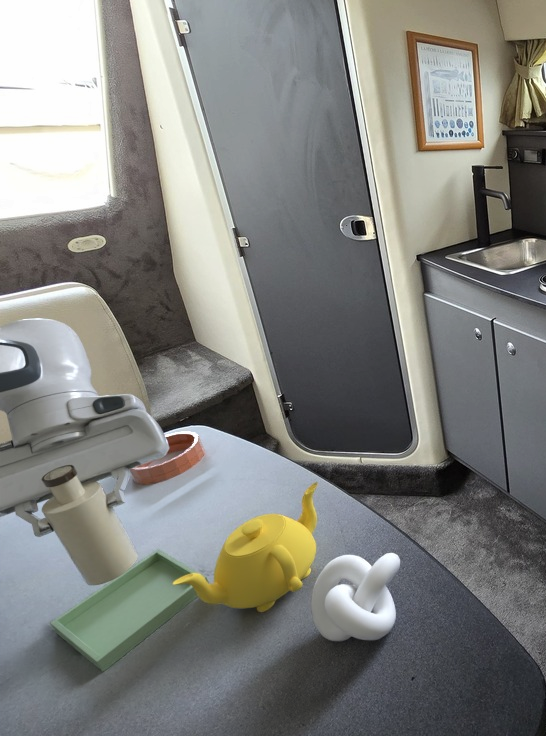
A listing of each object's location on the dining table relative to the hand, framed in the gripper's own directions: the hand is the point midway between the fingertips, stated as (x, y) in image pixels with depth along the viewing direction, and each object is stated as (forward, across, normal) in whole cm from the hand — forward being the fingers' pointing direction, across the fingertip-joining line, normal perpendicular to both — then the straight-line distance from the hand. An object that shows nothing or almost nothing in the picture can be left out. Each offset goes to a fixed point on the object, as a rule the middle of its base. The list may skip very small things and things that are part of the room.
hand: (83, 518), depth 66 cm
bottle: (+6, 0, +7) cm, 10 cm away
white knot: (+31, +25, -5) cm, 40 cm away
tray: (+12, 0, +13) cm, 18 cm away
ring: (-13, +5, +38) cm, 41 cm away
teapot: (+20, +17, +7) cm, 27 cm away
